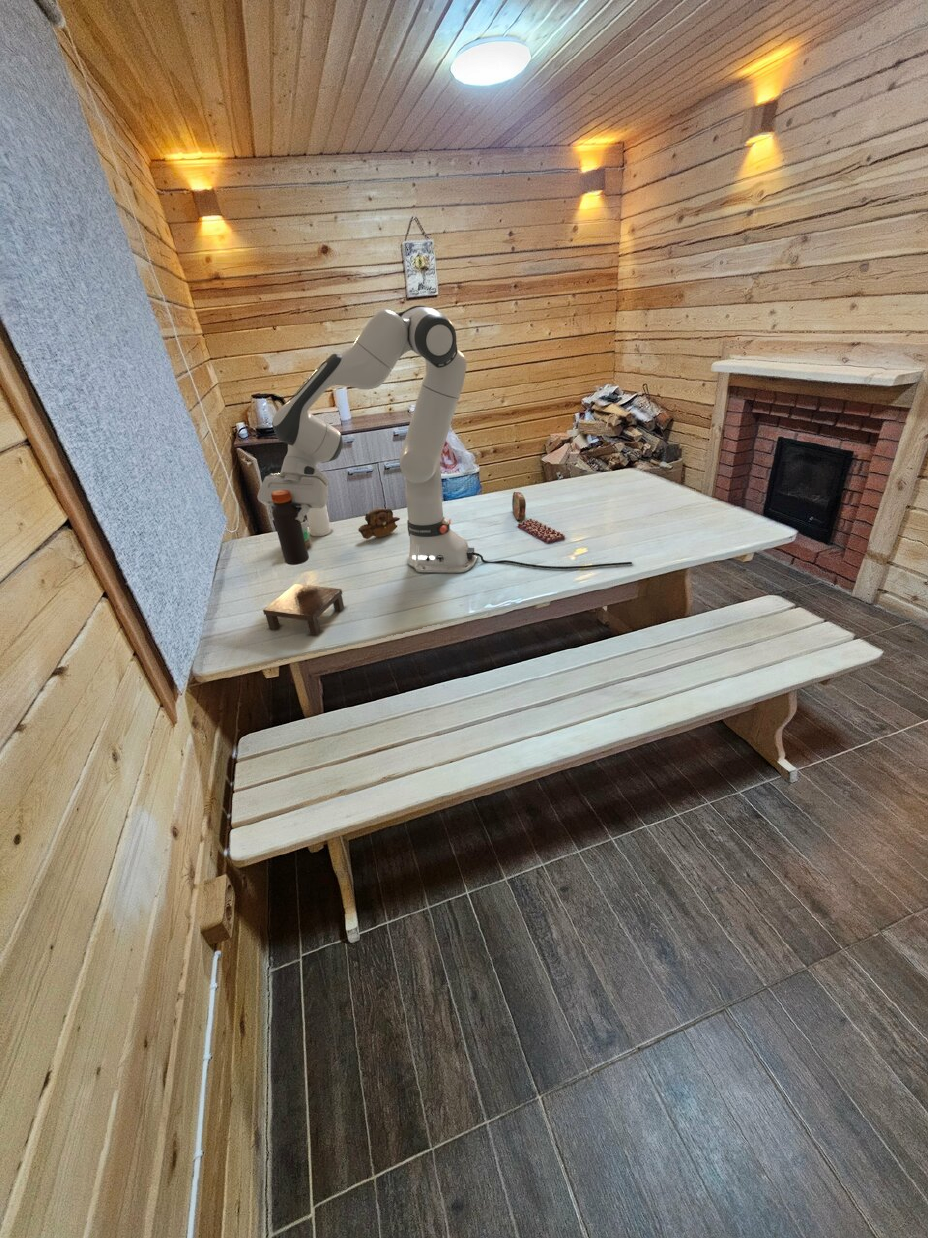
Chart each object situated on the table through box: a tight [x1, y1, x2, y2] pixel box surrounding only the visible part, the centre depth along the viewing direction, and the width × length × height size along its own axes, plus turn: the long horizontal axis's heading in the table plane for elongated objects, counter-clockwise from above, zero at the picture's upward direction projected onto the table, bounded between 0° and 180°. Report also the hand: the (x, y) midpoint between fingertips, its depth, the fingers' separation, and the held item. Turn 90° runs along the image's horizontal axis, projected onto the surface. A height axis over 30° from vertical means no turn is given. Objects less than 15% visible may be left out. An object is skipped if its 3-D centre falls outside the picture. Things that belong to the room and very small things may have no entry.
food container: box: [301, 517, 311, 551], centre depth 182 cm, size 12×6×10 cm, turn 168°
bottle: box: [305, 504, 332, 537], centre depth 189 cm, size 8×8×30 cm
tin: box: [511, 491, 527, 520], centre depth 199 cm, size 15×3×8 cm, turn 5°
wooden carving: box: [357, 508, 401, 540], centre depth 188 cm, size 16×5×10 cm, turn 131°
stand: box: [262, 583, 345, 636], centre depth 141 cm, size 15×15×6 cm
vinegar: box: [271, 490, 310, 566], centre depth 144 cm, size 7×7×20 cm
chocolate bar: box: [517, 518, 566, 544], centre depth 186 cm, size 7×19×2 cm, turn 28°
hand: (285, 520), depth 142 cm, fingers closed on vinegar, 6 cm apart
